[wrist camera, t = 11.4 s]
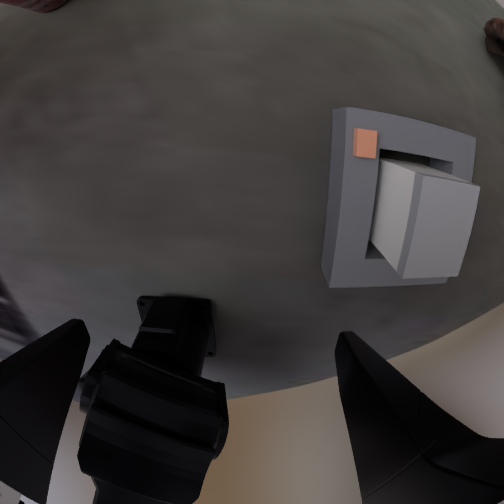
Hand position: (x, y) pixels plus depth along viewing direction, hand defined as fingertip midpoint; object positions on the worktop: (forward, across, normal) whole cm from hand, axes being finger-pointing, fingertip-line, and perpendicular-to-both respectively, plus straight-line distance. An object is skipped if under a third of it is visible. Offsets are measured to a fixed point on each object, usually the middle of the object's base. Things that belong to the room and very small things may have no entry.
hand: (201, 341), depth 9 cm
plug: (+12, -12, -2) cm, 17 cm away
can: (+12, +15, -23) cm, 30 cm away
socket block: (+12, -12, -2) cm, 17 cm away
